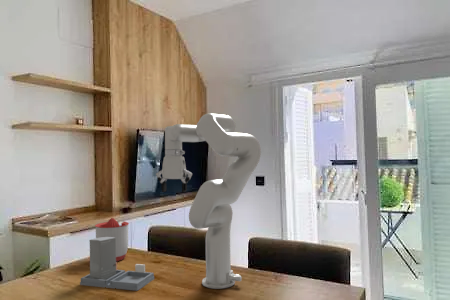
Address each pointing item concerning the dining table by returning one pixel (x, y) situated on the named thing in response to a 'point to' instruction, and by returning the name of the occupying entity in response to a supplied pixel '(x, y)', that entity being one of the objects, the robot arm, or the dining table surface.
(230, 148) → the robot arm
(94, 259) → the skincare box
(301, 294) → the dining table surface
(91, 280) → the tray
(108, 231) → the citrus juicer
